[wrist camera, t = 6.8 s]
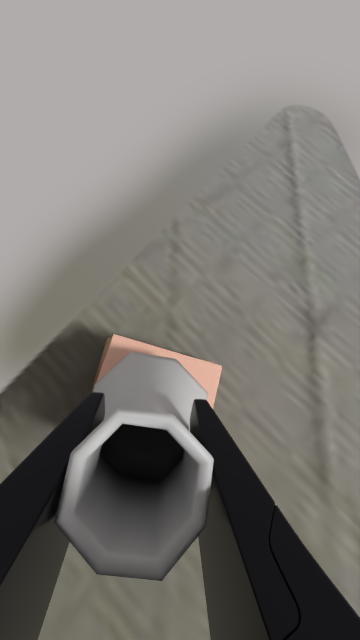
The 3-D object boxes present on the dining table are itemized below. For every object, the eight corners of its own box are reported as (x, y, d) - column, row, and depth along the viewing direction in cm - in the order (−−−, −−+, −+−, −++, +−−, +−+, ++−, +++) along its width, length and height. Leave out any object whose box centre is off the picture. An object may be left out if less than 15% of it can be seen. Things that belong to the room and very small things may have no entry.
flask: (61, 442, 14) (-153, 605, 4) (126, 332, 16) (81, 266, 6) (173, 502, 14) (219, 807, 4) (225, 385, 16) (346, 408, 6)
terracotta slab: (188, 476, 17) (193, 491, 15) (80, 446, 17) (68, 457, 15) (213, 368, 20) (222, 366, 17) (118, 340, 19) (113, 334, 17)
